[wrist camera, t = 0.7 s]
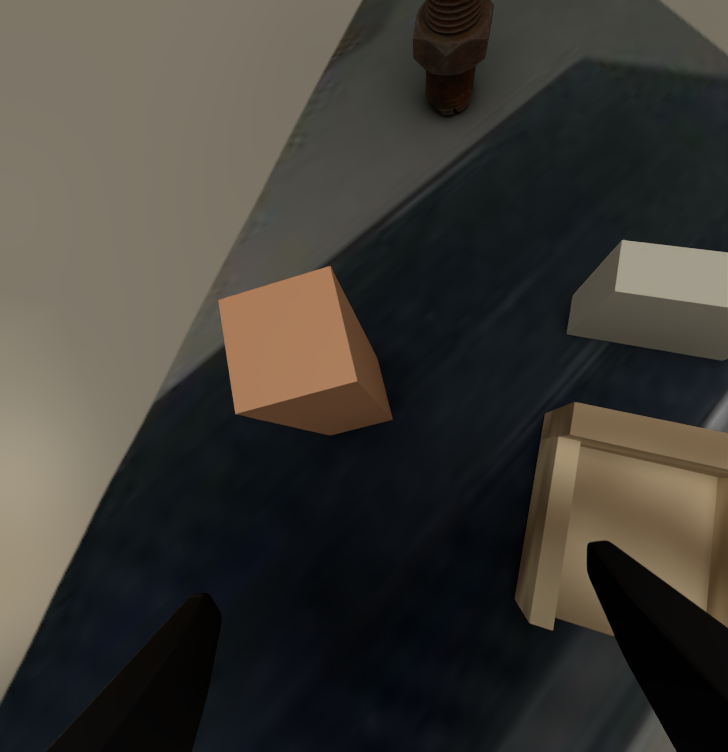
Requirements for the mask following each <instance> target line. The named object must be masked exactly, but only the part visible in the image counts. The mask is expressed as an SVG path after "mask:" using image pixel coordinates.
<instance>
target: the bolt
mask: <svg viewBox="0 0 728 752" xmlns="http://www.w3.org/2000/svg"><path fill="white" fill-rule="evenodd" d="M493 8H494V4H493V3H492V2H491V1H490V0H426V1H425V2H424V3H423V4H422V5H421V7H420V8H419V10H418V13H417V17H416V22H415V28H414V35H413V55H414V59H415V60H416V61H417V62H418V63H419V64H420V65H421V66H422V67H423V68H424V69H426V95H427V98H428V99H429V101H430V102H431V103H433V104H434V106H435V107H436V108H437V109H438V110H439V111H440V112H441V113H442V115H450V114H454V112H453V110H454V108H455V109H456V110H457V111H458V112H459V111H461V110H463V109H464V108H465V107H466V106H467V105H468V104H469V102H470V100H471V96H472V89H473V80H474V73H475V66H476V65H477V64H478V63H480V62H481V61H482V60H483V59H485V55H486V50H487V45H488V40H489V34H490V28H491V22H492V15H493ZM453 107H454V108H453Z"/></svg>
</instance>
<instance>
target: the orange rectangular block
mask: <svg viewBox="0 0 728 752" xmlns="http://www.w3.org/2000/svg"><path fill="white" fill-rule="evenodd" d="M218 301H219V308H220V314H221V321H222V328H223V334H224V341H225V348H226V354H227V361H228V368H229V374H230V381H231V388H232V394H233V401H234V408H235V414H238V415H242V416H247V417H251V418H256V419H260V420H264V421H269V422H273V423H278V424H282V425H286V426H291V427H295V428H300V429H304V430H308V431H313V432H317V433H322V434H326V435H334V434H338V433H342V432H346V431H350V430H354V429H358V428H362V427H366V426H370V425H374V424H377V423H381V422H385V421H389V420H393V419H392V415H391V411H390V407H389V403H388V399H387V395H386V391H385V387H384V383H383V379H382V375H381V371H380V367H379V363H378V359H377V357H376V355H375V353H374V351H373V349H372V347H371V345H370V343H369V341H368V339H367V337H366V335H365V333H364V331H363V329H362V327H361V325H360V324H359V322H358V320H357V318H356V316H355V314H354V312H353V310H352V308H351V306H350V304H349V302H348V300H347V298H346V296H345V294H344V292H343V290H342V288H341V286H340V284H339V282H338V280H337V278H336V276H335V274H334V272H333V271H332V269H331V267H330V266H329V267H325V268H322V269H319V270H315V271H312V272H309V273H306V274H302V275H299V276H296V277H293V278H289V279H286V280H283V281H279V282H276V283H273V284H270V285H266V286H263V287H260V288H256V289H253V290H250V291H247V292H243V293H240V294H237V295H233V296H230V297H227V298H224V299H220V300H218Z"/></svg>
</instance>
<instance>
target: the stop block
mask: <svg viewBox="0 0 728 752" xmlns="http://www.w3.org/2000/svg"><path fill="white" fill-rule="evenodd" d="M567 334H568V335H574V336H580V337H586V338H592V339H597V340H603V341H609V342H615V343H621V344H627V345H633V346H639V347H644V348H650V349H656V350H662V351H668V352H674V353H680V354H686V355H691V356H697V357H703V358H709V359H715V360H721V361H723V360H726V359H728V253H726V252H718V251H709V250H701V249H692V248H684V247H676V246H667V245H659V244H650V243H642V242H633V241H625V240H622V241H621V242H620V243H619V244H618V245H617V246H616V247H615V249H614V250H613V251H612V252H611V253H610V254H609V255H608V256H607V258H606V259H605V260H604V261H603V262H602V263H601V264H600V265H599V266H598V268H597V269H596V270H595V271H594V272H593V273H592V274H591V275H590V277H589V278H588V279H587V280H586V281H585V282H584V283H583V284H582V286H581V287H580V288H579V289H578V290H577V291H576V292H575V293H574V294H573V297H572V303H571V309H570V315H569V322H568V328H567Z"/></svg>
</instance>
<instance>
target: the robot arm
mask: <svg viewBox="0 0 728 752" xmlns="http://www.w3.org/2000/svg"><path fill="white" fill-rule="evenodd" d="M587 573H588V576H589V579H590V581H591V583H592V586H593V588H594V590H595V592H596V595H597V597H598V599H599V602H600V604H601V606H602V608H603V611H604V613H605V615H606V617H607V620H608V622H609V624H610V626H611V629H612V631H613V633H614V636H615V638H616V640H617V642H618V644H619V647H620V649H621V651H622V653H623V655H624V657H625V659H626V661H627V663H628V665H629V667H630V669H631V670H632V672H633V674H634V676H635V678H636V679H637V681H638V683H639V685H640V687H641V688H642V690H643V692H644V694H645V696H646V697H647V699H648V701H649V703H650V705H651V706H652V708H653V710H654V712H655V714H656V715H657V717H658V719H659V721H660V723H661V724H662V726H663V728H664V730H665V732H666V733H667V735H668V737H669V739H670V741H671V742H672V744H673V746H674V748H675V749H676V751H677V752H728V627H726V626H725V625H723V624H722V623H721V622H719V621H718V620H717V619H715V618H714V617H713V616H711V615H710V614H708V613H707V612H706V611H704V610H703V609H702V608H700V607H699V606H698V605H696V604H695V603H693V602H692V601H691V600H689V599H688V598H687V597H685V596H684V595H683V594H681V593H680V592H678V591H677V590H676V589H674V588H673V587H672V586H670V585H669V584H667V583H666V582H665V581H663V580H662V579H661V578H659V577H658V576H657V575H655V574H654V573H652V572H651V571H650V570H648V569H647V568H646V567H644V566H643V565H642V564H640V563H639V562H637V561H636V560H635V559H633V558H632V557H631V556H629V555H628V554H627V553H625V552H624V551H622V550H621V549H620V548H618V547H617V546H616V545H614V544H613V543H611V542H610V541H607V540H601V541H593V542H589V543H588V544H587ZM220 628H221V613H220V611H219V609H218V607H217V606H216V604H215V602H214V601H213V599H212V597H211V596H210V594H208V593H199V594H194V595H191V596H190V597H189V598H188V599H187V600H186V601H185V602H184V603H183V604H182V605H181V606H180V607H179V608H178V609H177V610H176V611H175V613H174V614H173V615H172V616H171V617H170V618H169V619H168V620H167V621H166V622H165V623H164V624H163V625H162V627H161V628H160V629H159V630H158V631H157V632H156V633H155V634H154V635H153V636H152V637H151V638H150V640H149V641H148V642H147V643H146V644H145V645H144V646H143V647H142V648H141V649H140V650H139V651H138V652H137V654H136V655H135V656H134V657H133V658H132V659H131V660H130V661H129V662H128V663H127V664H126V665H125V667H124V668H123V669H122V670H121V671H120V672H119V673H118V674H117V675H116V676H115V677H114V678H113V679H112V681H111V682H110V683H109V684H108V685H107V686H106V687H105V688H104V689H103V690H102V691H101V692H100V694H99V695H98V696H97V697H96V698H95V699H94V700H93V701H92V702H91V703H90V704H89V705H88V706H87V708H86V709H85V710H84V711H83V712H82V713H81V714H80V715H79V716H78V717H77V718H76V719H75V721H74V722H73V723H72V724H71V725H70V726H69V727H68V728H67V729H66V730H65V731H64V732H63V733H62V735H61V736H60V737H59V738H58V739H57V740H56V741H55V742H54V743H53V744H52V745H51V746H50V748H49V749H48V750H47V751H46V752H192V749H193V745H194V741H195V738H196V734H197V731H198V727H199V724H200V720H201V716H202V713H203V709H204V706H205V702H206V698H207V694H208V689H209V685H210V680H211V675H212V669H213V664H214V659H215V654H216V648H217V643H218V638H219V633H220Z"/></svg>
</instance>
